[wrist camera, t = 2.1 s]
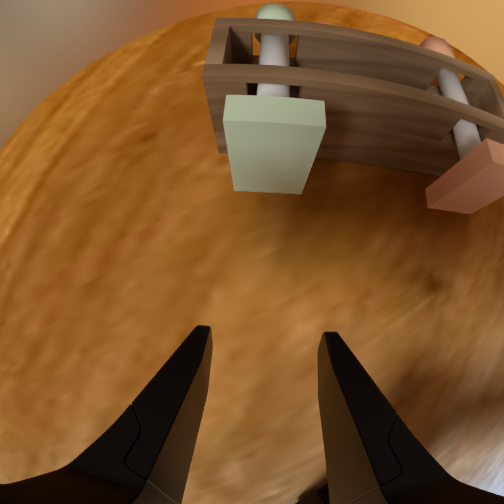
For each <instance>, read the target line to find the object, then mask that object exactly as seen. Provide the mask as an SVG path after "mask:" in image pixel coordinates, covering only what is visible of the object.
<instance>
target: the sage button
mask: <svg viewBox="0 0 504 504" xmlns="http://www.w3.org/2000/svg"><path fill="white" fill-rule="evenodd" d="M256 18H260V19H279V20H292V21H295V16H294V13H293V11H292V10H291V9H290V8H289V7H287V6H286V5H283V4H279V3H270V4H266V5H264V6H262V7H261V8H260V9H259V10H258V12H257V14H256ZM255 37H256V39H257V40H258V41H259V42H260V43H261V45H260V59H259V65H277V66H289V44H290V43H292V42H293V40H294V39H295V35H289V34H275V33H255ZM223 125H224V131H225V137H226V144H227V150H228V156H229V162H230V168H231V174H232V180H233V186H234V191H252V192H270V193H286V194H300V195H301V194H302V191H303V189H304V186H305V183H306V181H307V178H308V175H309V173H310V170H311V167H312V165H313V162H314V159H315V157H316V154H317V151H318V148H319V146H320V143H321V140H322V137H323V135H324V132H325V129H326V117H325V104H324V101H320V100H311V99H301V98H290V85H282V84H266V83H258V86H257V96H256V95H226V101H225V108H224V115H223Z"/></svg>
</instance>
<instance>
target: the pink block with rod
mask: <svg viewBox="0 0 504 504" xmlns="http://www.w3.org/2000/svg"><path fill="white" fill-rule="evenodd" d="M420 46H422V47H425V48H428V49H431V50H434V51H436V52H439V53H442V54H445V55H447V56H450V57H453V58H455V56H454V54H453V52H452V50H451V48H450V46H449V44H448V43H447V42H446V41H445V40H444V39H442V38H439V37H430V38H427V39H425V40H424V41H422V43H421V44H420ZM455 59H456V58H455ZM435 78H436V80H437V82H438V85H439V88H440V91H441V94H442V96H444V97H447V98H450V99H453V100H456V101H459V102H462V103H464V104H467V105H469V103H468V100H467V98H466V95H465V92H464V90H463V87H462V85H461V82H460V80H459V78H458V75H457V72H455V71H452V70H450V69H447V68H444V67H442V68H441V69H440V71H439V72H438V74H437V75H436V77H435ZM452 129H453V133H454V137H455V141H456V145H457V149H458V153H459V157H460V161H459V162H458V163H457V164H455V165H454V166H453V167H452V168H451V169H449V170H448V171H447V172H446V173H444V174H443V175H442V176H441V177H440V178H438V179H437V180H436V181H435V182H433V183H432V184H431V185H430V186H428V187H427V188H426V189H425V192H426V199H427V208H432V209H439V210H445V211H452V212H458V213H465V214H472V213H474V212H475V211H477V210H479V209H481V208H483V207H485V206H487V205H488V204H490V203H492V202H494V201H496V200H497V199H499V198H501V197H503V196H504V144H501V143H498V142H496V141H493V140H490V139H487V138H486V139H485V140H484V141H483V142H481V140H480V137H479V133H478V130H477V127H476V124H475V123H472V122H469V121H466V120H463V119H461V120H460V121H459V122H458V123H457V124H456V125H455V126H454V127H453V128H452Z"/></svg>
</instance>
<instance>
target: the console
mask: <svg viewBox="0 0 504 504" xmlns="http://www.w3.org/2000/svg"><path fill="white" fill-rule="evenodd" d="M252 32H253V33H275V34H289V35H298V42H297V49H296V56H295V58H289V66H277V65H259V59H260V56H255V55H253V48H252ZM442 67H444V68H447V69H450V70H452V71H455V72H458V73H460V74H463V75H465V77H464V78H463V79H462V81H461V85H462V87H463V90H464V92H465V95H466V98H467V100H468V103H469V105H467V104H464V103H462V102H459V101H456V100H453V99H450V98H447V97H444V96H442V94H441V91H440V88H439V87H438V86H435V85H431V82H432V81H433V80H434V78H435V77H436V75H437V74H438V72H439V71H440V69H441V68H442ZM202 77H203V82H204V87H205V91H206V96H207V101H208V105H209V110H210V115H211V119H212V124H213V128H214V133H215V138H216V142H217V147H218V151H219V153H228V150H227V144H226V137H225V131H224V125H223V115H224V108H225V101H226V95H256V96H257V86H258V83H266V84H282V85H290V98H301V99H311V100H320V101H324V104H325V117H326V129H325V132H324V135H323V137H322V140H321V143H320V146H319V148H318V151H317V154H316V157H315V158H316V159H326V160H336V161H345V162H353V163H361V164H368V165H375V166H382V167H389V168H395V169H402V170H408V171H413V172H419V173H425V174H430V175H435V176H440V177H441V176H442V175H443V174H444V173H446V172H447V171H448V170H449V169H451V168H452V167H453V166H454V165H455V164H457V163H458V162H459V161H460V157H459V153H458V149H457V145H456V141H455V137H454V133H453V129H452V128H453V127H454V126H455V125H456V124H457V123H458V122H459V121H460V120H461V119H463V120H466V121H469V122H472V123H475V124H476V127H477V130H478V133H479V137H480V140H481V142H483V141H484V140H485V139H486V138H487V139H490V140H493V141H496V142H498V143H501V144H504V98H503V95H502V93H501V91H500V89H499V86H498V84H497V82H496V80H495V78H494V76H493V75H492V74H490V73H488V72H485V71H483V70H481V69H479V68H477V67H474V66H472V65H470V64H467V63H465V62H463V61H460V60H458V59H455V58H453V57H450V56H447V55H445V54H442V53H439V52H436V51H434V50H431V49H428V48H425V47H422V46H418V45H415V44H412V43H409V42H405V41H402V40H398V39H394V38H391V37H387V36H383V35H379V34H374V33H370V32H365V31H360V30H356V29H350V28H345V27H339V26H333V25H326V24H319V23H311V22H302V21H292V20H279V19H260V18H216V21H215V25H214V29H213V33H212V37H211V41H210V45H209V49H208V53H207V57H206V62H205V66H204V70H203V75H202Z"/></svg>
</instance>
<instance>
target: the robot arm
mask: <svg viewBox="0 0 504 504" xmlns="http://www.w3.org/2000/svg"><path fill="white" fill-rule="evenodd" d="M212 348H213V343H212V332H211V327H210V326H205V325H198V326H196V327H195V328H194V329H193V331H192V332H191V333H190V334H189V335H188V337H187V338H186V339H185V340H184V341H183V343H182V344H181V345H180V346H179V347H178V349H177V350H176V351H175V352H174V353H173V354H172V356H171V357H170V358H169V359H168V360H167V362H166V363H165V364H164V365H163V366H162V368H161V369H160V370H159V371H158V372H157V373H156V375H155V376H154V377H153V378H152V379H151V381H150V382H149V383H148V384H147V385H146V387H145V388H144V389H143V390H142V391H141V392H140V394H139V395H138V396H137V397H136V398H135V400H134V401H133V402H132V405H129V406H128V408H127V409H126V410H125V411H124V412H123V414H122V415H121V416H120V417H119V418H118V419H117V420H116V421H115V422H114V424H113V425H112V426H111V427H110V428H108V429H107V430H106V431H105V432H104V433H103V434H102V435H101V436H100V437H99V438H98V439H97V440H96V441H95V442H93V443H92V444H91V445H90V446H89V447H88V448H87V449H86V450H85V451H83V452H82V453H81V454H80V455H79V456H78V457H77V458H75V459H74V460H73V461H72V462H71V463H69V464H68V465H66V466H64V467H62V468H60V469H58V470H55V471H52V472H49V473H46V474H43V475H39V476H36V477H32V478H29V479H25V480H21V481H18V482H14V483H9V484H0V504H181V503H182V499H183V494H184V490H185V486H186V482H187V477H188V473H189V469H190V465H191V460H192V456H193V452H194V448H195V443H196V439H197V435H198V431H199V427H200V423H201V418H202V414H203V410H204V406H205V402H206V397H207V393H208V385H209V376H210V367H211V358H212ZM318 400H319V409H320V417H321V425H322V433H323V441H324V450H325V459H326V468H327V478H328V484H327V485H325V486H324V487H323V488H321V489H320V490H318V491H316V492H314V493H313V494H312V495H310V496H309V497H307V498H306V499H304V500H303V501H301V502H300V503H298V504H504V497H503V496H500V495H497V494H494V493H490V492H487V491H484V490H481V489H479V488H476V487H473V486H470V485H467V484H465V483H462V482H460V481H458V480H456V479H455V478H453V477H452V476H451V475H450V474H448V473H447V472H446V471H445V470H444V469H443V467H442V466H441V465H440V464H439V463H438V462H437V461H436V460H435V459H434V458H433V457H432V456H431V454H430V453H429V452H428V451H427V450H426V449H425V448H424V447H423V446H422V445H421V443H420V442H419V441H418V440H417V439H416V438H415V436H414V435H413V434H412V433H411V431H410V430H409V429H408V427H407V426H406V425H405V424H404V422H403V421H402V419H401V418H400V417H399V415H397V413H396V411H395V410H394V408H393V407H392V406H391V404H390V403H389V402H388V400H387V399H386V397H385V396H384V395H383V393H382V392H381V391H380V389H379V388H378V387H377V385H376V384H375V382H374V381H373V380H372V378H371V377H370V376H369V374H368V373H367V372H366V370H365V369H364V368H363V366H362V365H361V364H360V362H359V361H358V359H357V358H356V357H355V355H354V354H353V353H352V351H351V350H350V349H349V347H348V346H347V345H346V343H345V342H344V341H343V339H342V338H341V337H340V335H339V334H338V333H337V332H324V333H323V334H322V338H321V341H320V344H319V348H318Z"/></svg>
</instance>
